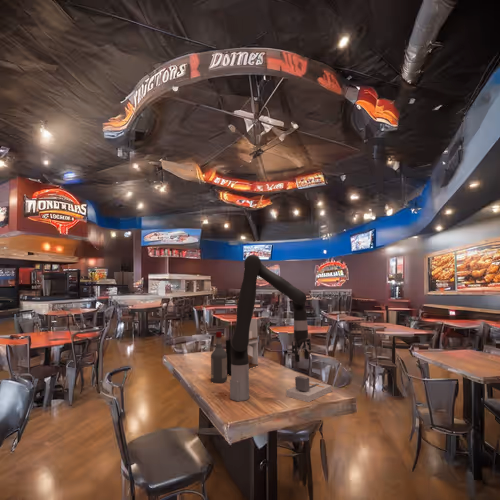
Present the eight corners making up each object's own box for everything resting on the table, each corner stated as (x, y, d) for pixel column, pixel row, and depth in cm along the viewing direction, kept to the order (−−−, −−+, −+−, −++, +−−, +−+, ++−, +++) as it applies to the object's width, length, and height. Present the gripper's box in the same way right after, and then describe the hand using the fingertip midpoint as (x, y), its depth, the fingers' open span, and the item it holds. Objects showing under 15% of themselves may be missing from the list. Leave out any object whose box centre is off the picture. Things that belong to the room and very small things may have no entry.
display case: (237, 367, 225) (236, 319, 230) (246, 365, 234) (245, 318, 239) (249, 369, 219) (248, 319, 224) (258, 366, 227) (256, 318, 232)
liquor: (227, 379, 196) (227, 331, 200) (225, 383, 187) (224, 332, 191) (213, 379, 197) (213, 331, 201) (210, 383, 188) (210, 332, 192)
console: (308, 402, 152) (308, 395, 152) (286, 396, 161) (286, 389, 162) (331, 391, 167) (331, 385, 167) (310, 386, 177) (309, 380, 177)
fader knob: (305, 391, 157) (304, 378, 158) (295, 389, 161) (295, 376, 162) (309, 389, 160) (309, 377, 161) (300, 387, 164) (299, 375, 165)
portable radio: (232, 372, 213) (232, 335, 217) (239, 373, 210) (238, 335, 213) (224, 374, 207) (224, 336, 211) (231, 375, 204) (230, 337, 207)
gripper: (302, 327, 172) (303, 357, 170) (287, 329, 162) (288, 361, 160) (314, 328, 167) (315, 359, 165) (298, 330, 157) (300, 363, 155)
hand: (302, 360), depth 162 cm, fingers open, 8 cm apart
